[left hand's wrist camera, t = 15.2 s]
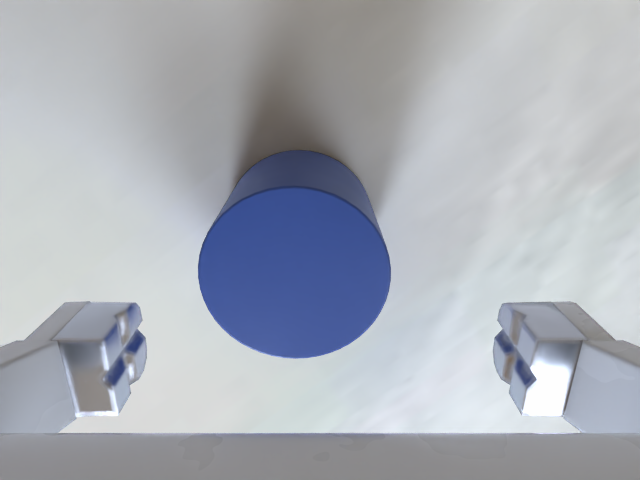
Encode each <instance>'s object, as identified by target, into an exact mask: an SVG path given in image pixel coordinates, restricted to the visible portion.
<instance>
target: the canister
mask: <svg viewBox="0 0 640 480" xmlns="http://www.w3.org/2000/svg"><path fill="white" fill-rule="evenodd" d="M198 278H199V284H200V290H201V293H202V296H203V299H204V301H205V303H206V305H207V308H208V310H209V311H210V313H211V314H212V316H213V317H214V319H215V320H216V321H217V323H218V324H219V325H220V326H221V327H222V328H223V329H224V330H225V331H226V332H227V333H228V334H229V335H230V336H232V337H233V338H234V339H236V340H237V341H239V342H240V343H242V344H244V345H245V346H247V347H249V348H251V349H253V350H256V351H258V352H261V353H264V354H268V355H271V356H276V357H282V358H309V357H316V356H321V355H324V354H328V353H331V352H333V351H336V350H338V349H341V348H342V347H344V346H346V345H348V344H350V343H351V342H353V341H354V340H356V339H357V338H358V337H360V336H361V335H362V334H363V333H364V332H365V331H366V330H367V329H368V328H369V327H370V326H371V325H372V324H373V322H374V321H375V320H376V318H377V317H378V315H379V313H380V312H381V310H382V308H383V306H384V304H385V302H386V298H387V295H388V292H389V287H390V281H391V266H390V259H389V254H388V251H387V248H386V244H385V242H384V239H383V236H382V233H381V231H380V228H379V225H378V223H377V220H376V217H375V214H374V212H373V209H372V206H371V203H370V201H369V198H368V195H367V193H366V191H365V189H364V187H363V185H362V184H361V182H360V181H359V179H358V178H357V177H356V176H355V175H354V173H353V172H352V171H350V170H349V169H348V168H347V167H346V166H345V165H343V164H342V163H340V162H339V161H337V160H335V159H333V158H331V157H329V156H326V155H324V154H321V153H317V152H312V151H303V150H295V151H286V152H281V153H277V154H274V155H271V156H269V157H267V158H265V159H263V160H261V161H260V162H258V163H257V164H255V165H254V166H252V167H251V168H250V169H249V170H248V171H247V172H246V173H245V174H244V175H243V176H242V178H241V179H240V180H239V182H238V184H237V185H236V187H235V188H234V190H233V192H232V193H231V195H230V197H229V198H228V200H227V202H226V203H225V205H224V206H223V208H222V210H221V211H220V213H219V215H218V216H217V218H216V220H215V221H214V223H213V225H212V226H211V228H210V230H209V231H208V233H207V235H206V237H205V240H204V242H203V244H202V248H201V251H200V255H199V263H198Z"/></svg>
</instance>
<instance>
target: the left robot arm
mask: <svg viewBox="0 0 640 480" xmlns="http://www.w3.org/2000/svg"><path fill="white" fill-rule="evenodd" d="M141 322H142V315H141V310H140V307H139V306H138V305H137V303H125V302H90V301H86V302H66V303H64V304H63V305H62V306H61V307H59V308H58V309H57V310H56V311H55V312H54V313H53V314H52V315H51V316H50V317H49V318H48V319H47V320H46V321H44V322H43V323H42V324H41V325H40V326H39V327H38V328H37V329H36V330H35V331H34V332H33V333H32V334H30V335H29V336H28V337H27V338H26V339H25V340H24V341H14V342H12V343H9V344H7V345H5V346H2V347H0V480H640V347H638V346H635V345H633V344H631V343H628V342H626V341H616V340H615V339H614V338H613V337H612V336H611V335H610V334H609V333H607V332H606V331H605V330H604V329H603V328H602V327H601V326H600V325H599V324H598V323H597V322H596V321H595V320H594V319H592V318H591V317H590V316H589V315H588V314H587V313H586V312H585V311H584V310H583V309H582V308H581V307H580V306H579V305H577V304H576V303H574V302H571V301H565V302H523V303H504V304H502V306H501V308H500V310H499V315H498V322H499V323H500V325H501V327H502V328H503V329H502V330H501V331H500V332H499V334H498V335H497V336H496V337H495V339H494V346H493V356H494V364H495V367H496V370H497V373H498V374H499V376H500V378H501V379H502V380H503V381H505V382H506V383H508V384H510V390H509V394H510V396H511V397H512V399H513V401H514V403H515V404H516V406H517V408H518V410H519V411H520V413H521V415H525V416H562V417H564V419H565V420H566V421H568V422H569V423H570V424H572V425H573V426H574V427H576V428H577V429H578V430H580V431H581V432H582V433H58V432H59V431H60V430H62V429H63V428H64V427H66V426H67V425H68V424H70V423H71V422H72V421H74V420H75V419H76V417H78V416H114V415H119V413H120V411H121V410H122V408H123V406H124V404H125V403H126V401H127V399H128V397H129V396H130V394H131V390H130V384H132V383H134V382H135V381H137V380H138V379H139V378H140V376H141V374H142V373H143V371H144V367H145V363H146V359H147V345H146V338H145V337H144V336H143V335H142V334H141V332H140V331H139V330H138V329H137V328H138V327H139V325H140V323H141Z"/></svg>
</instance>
